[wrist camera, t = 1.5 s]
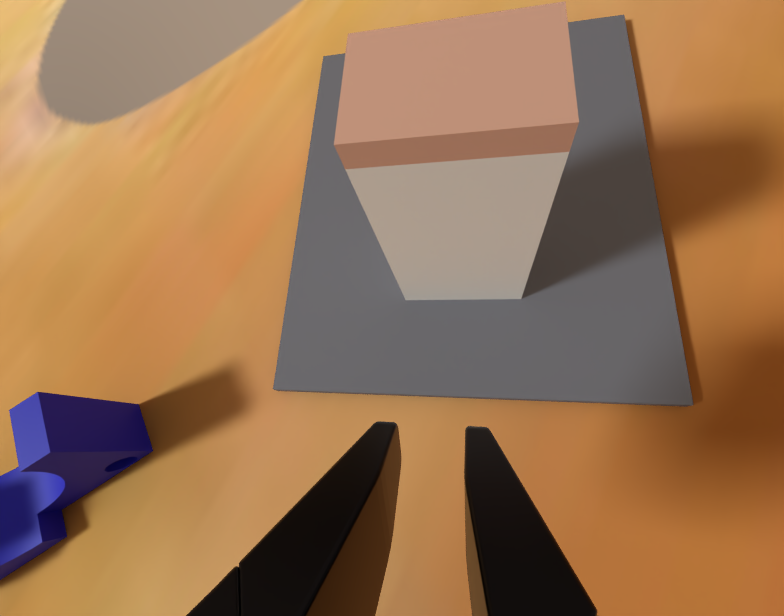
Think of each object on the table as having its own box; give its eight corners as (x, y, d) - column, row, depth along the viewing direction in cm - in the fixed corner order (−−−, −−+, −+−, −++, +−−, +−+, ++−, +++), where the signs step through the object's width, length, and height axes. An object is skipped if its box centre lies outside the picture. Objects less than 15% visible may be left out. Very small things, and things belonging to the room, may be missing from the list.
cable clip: (-25, 596, 22) (-197, 649, 16) (-34, 516, 23) (-193, 538, 18) (163, 475, 22) (56, 485, 16) (140, 404, 23) (37, 391, 18)
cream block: (521, 299, 20) (578, 122, 9) (405, 300, 22) (333, 144, 10) (517, 230, 22) (565, 1, 10) (409, 234, 23) (348, 33, 12)
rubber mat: (686, 406, 18) (693, 405, 17) (278, 390, 22) (273, 389, 21) (620, 24, 26) (624, 14, 25) (326, 63, 30) (323, 56, 29)
